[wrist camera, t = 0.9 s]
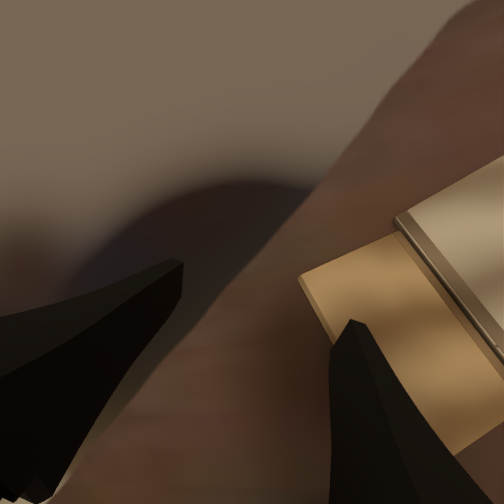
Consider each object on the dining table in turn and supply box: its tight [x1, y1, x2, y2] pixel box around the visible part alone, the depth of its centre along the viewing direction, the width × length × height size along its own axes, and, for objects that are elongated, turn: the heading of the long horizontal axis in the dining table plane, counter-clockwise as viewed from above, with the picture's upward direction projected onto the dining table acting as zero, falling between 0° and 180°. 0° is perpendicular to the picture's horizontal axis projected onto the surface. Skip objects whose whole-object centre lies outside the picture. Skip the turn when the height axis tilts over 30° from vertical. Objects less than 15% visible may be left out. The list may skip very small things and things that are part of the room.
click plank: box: [298, 230, 504, 456], centre depth 17 cm, size 13×9×1 cm
